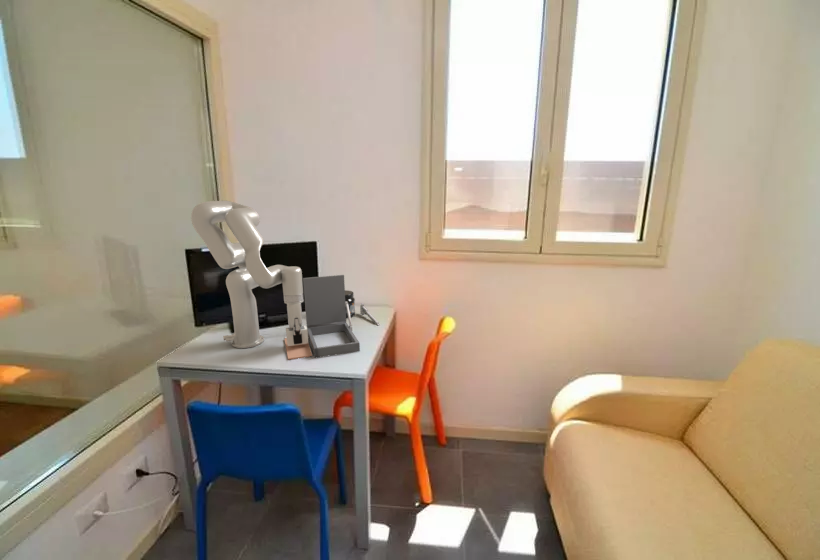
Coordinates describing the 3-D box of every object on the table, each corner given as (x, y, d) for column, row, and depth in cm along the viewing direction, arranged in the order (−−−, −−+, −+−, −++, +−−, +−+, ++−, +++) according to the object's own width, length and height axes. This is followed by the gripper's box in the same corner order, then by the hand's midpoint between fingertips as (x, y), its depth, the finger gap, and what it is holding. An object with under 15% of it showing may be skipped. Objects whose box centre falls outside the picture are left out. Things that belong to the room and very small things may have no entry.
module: (287, 346, 158) (286, 331, 157) (286, 341, 163) (285, 327, 161) (308, 343, 161) (307, 328, 160) (307, 338, 166) (305, 324, 164)
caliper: (360, 314, 204) (359, 302, 202) (362, 314, 204) (361, 302, 203) (378, 326, 187) (377, 313, 185) (380, 325, 187) (379, 313, 186)
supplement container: (329, 316, 201) (328, 293, 198) (345, 311, 209) (344, 288, 206) (343, 320, 194) (342, 296, 191) (359, 315, 202) (358, 292, 199)
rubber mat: (288, 360, 151) (288, 358, 151) (284, 339, 171) (284, 338, 171) (312, 356, 154) (312, 354, 154) (306, 336, 174) (306, 335, 174)
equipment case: (315, 357, 153) (310, 293, 147) (307, 334, 177) (303, 278, 171) (362, 350, 159) (360, 288, 153) (348, 328, 183) (346, 274, 177)
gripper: (282, 293, 164) (286, 335, 168) (285, 304, 149) (289, 350, 153) (301, 291, 167) (304, 332, 171) (306, 302, 151) (309, 347, 155)
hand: (297, 340), depth 162 cm, fingers closed on module, 5 cm apart
